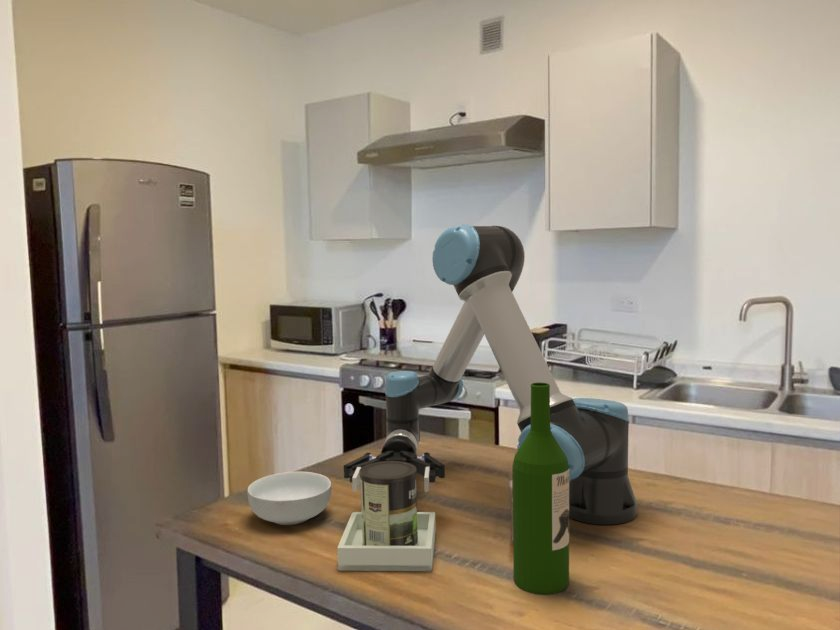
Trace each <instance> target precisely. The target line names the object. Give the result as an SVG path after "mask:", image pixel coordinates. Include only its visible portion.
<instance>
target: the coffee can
mask: <svg viewBox="0 0 840 630" xmlns="http://www.w3.org/2000/svg"><path fill="white" fill-rule="evenodd" d="M359 475H360V506H361V507H360V508H361V511H360V512H361V513H362V538H363V543H362V546H418V532H417V512H418V505H417V503H418V500H417V498H418V496H417V469H416V467H415V466H414V465H412V464H410V463H406V462H401V461H382V462H375V463H371V464H368V465H365V466H363V467H362V468H361V469H360V470H359Z"/></svg>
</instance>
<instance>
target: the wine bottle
mask: <svg viewBox="0 0 840 630" xmlns="http://www.w3.org/2000/svg"><path fill="white" fill-rule="evenodd" d="M512 544H513V545H512V548H513V550H512V551H513V552H512V554H513V555H512V556H513V559H512V560H513V561H512V562H513V567H512V568H513V580H514V583H515V584H516V586H518V587H519V588H520V589H521V590H523V591H526V592H529V593H533V594H537V595H553V594H558V593H560V592H563V591H564V590H565V589H567V587H568V585H569V583H570V517H569V465H568V460H567V456H566V455H565V453H564V452H563V450H562V449H561V447H560V445H559V444H558V442H557V441H556V439H555V438H554V436H553V434H552V432H551V429H550V385H549V384H548V383H532V384H531V429H530V432H529V434H528V435H527V437H526V438H525V440H524V442H523V443H522V445H521V446H520V448H519V449H518V450H517V451H516V453H515V454H514V458H513V463H512Z"/></svg>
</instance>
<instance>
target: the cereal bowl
mask: <svg viewBox="0 0 840 630" xmlns="http://www.w3.org/2000/svg"><path fill="white" fill-rule="evenodd" d="M246 493H247V500H248V505H249V507H250V510H251V511H252V512H253V513H254V514H255V515H256V516H257V517H258V518H259V519H262V520H264V521H267V522H271V523H275V524H277V525H281V526H291V525H298V524H302V523H304V522H307V521H308V520H309V519H312V518H314V517H315V516H317V515H319V514H320V513H322V512H323V511H324V510H325V509H326V508H327V506H328V505H329V503H330V501H331V500H330V499H331V496H332V481H331V479H329V477H327V476H325V475H324V474H320V473H316V472H311V471H285V472H279V473H274V474H269V475H266V476H263V477H261V478H258V479H256V480H255V481H252V482H251V484H249V485H248V487H247V491H246Z"/></svg>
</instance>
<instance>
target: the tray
mask: <svg viewBox="0 0 840 630" xmlns="http://www.w3.org/2000/svg"><path fill="white" fill-rule="evenodd" d="M351 512H352V513H351V514H350V517H349V519H348V521H347V524H346V526H345V528H344V531H343V534H342V536H341V538H340V541H339V543H338V546H337V548H336V550H337V571H340V572H341V571H342V572H344V571H345V572H347V571H349V572H350V571H351V572H352V571H353V572H354V571H355V572H356V571H358V572H359V571H361V572H362V571H363V572H365V571H366V572H368V571H369V572H432V571H433V562H434V553H435V544H436V543H435V542H436V511H417V532H418V546H362V543H363V538H362V513H361V511H351Z"/></svg>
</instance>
